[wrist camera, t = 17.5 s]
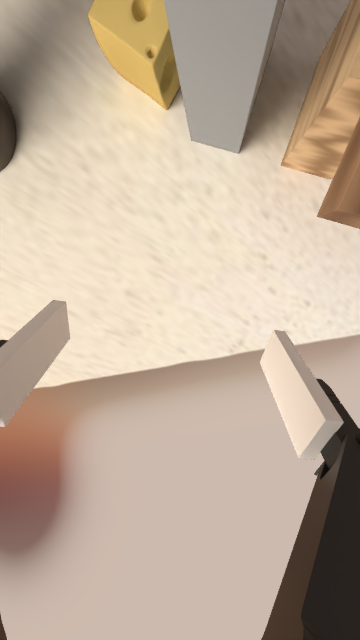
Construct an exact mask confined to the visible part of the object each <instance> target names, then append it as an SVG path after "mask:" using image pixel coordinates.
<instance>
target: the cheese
mask: <svg viewBox="0 0 360 640" xmlns="http://www.w3.org/2000/svg"><path fill="white" fill-rule="evenodd" d="M88 17H89V20H90V23H91V26H92V29H93V32H94V35H95V37H96V40H97V42H98V44H99V46H100V48H101V50H102V51H103V53H104V55H105V57H106V58H107V60H108V62H109V63H110V64H111V66H112V67H113V68H114V69H115V70H116V71H117V72H118V73H119V74H120V75H121V76H122V77H123V78H125V79H126V80H127V81H129V82H130V83H131V84H133V85H134V86H136V87H137V88H139V89H140V90H141V91H143V92H144V93H146V94H147V95H148V96H150V97H151V98H152V99H153V100H155V101H156V102H157V103H158V104H159V105H161V106H162V107H163V108H164V109H166V110H168V108H169V106H170V104H171V102H172V101H173V99H174V97H175V95H176V93H177V91H178V89H179V87H180V81H179V76H178V70H177V65H176V60H175V55H174V50H173V45H172V40H171V35H170V30H169V25H168V20H167V14H166V9H165V4H164V0H94V2H93V4H92V6H91V9H90V11H89V13H88Z"/></svg>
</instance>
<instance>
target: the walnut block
mask: <svg viewBox="0 0 360 640" xmlns="http://www.w3.org/2000/svg"><path fill="white" fill-rule="evenodd" d="M317 217H321V218H324V219H327V220H331V221H334V222H338V223H341V224H345V225H348V226H352V227H355V228H359V229H360V117H359V119H358V122H357V124H356V126H355V129H354V131H353V133H352V136H351V138H350V140H349V143H348V145H347V147H346V150H345V152H344V154H343V157H342V159H341V161H340V164H339V166H338V168H337V171H336V173H335V175H334V178H333V180H332V182H331V185H330V187H329V189H328V192H327V194H326V196H325V199H324V201H323V203H322V206H321V208H320V210H319V213H318V215H317Z"/></svg>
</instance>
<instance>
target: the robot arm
mask: <svg viewBox="0 0 360 640" xmlns="http://www.w3.org/2000/svg"><path fill="white" fill-rule="evenodd" d="M15 142H16V128H15V122H14V118H13V114H12V111H11V109H10V106H9V104H8V102H7V101H6V99H5V97H4V96H3V94H2V93H1V92H0V171H1V170H2V169H3V168H4V167H5V166H6V165H7V164H8V162H9V161H10V159H11V157H12V154H13V152H14V148H15ZM69 339H70V333H69V324H68V316H67V307H66V302H64V301H57V300H53V301H52V302H50V303H49V304H48V305H47V306H46V307H45V308H44V309H43V310H42V311H40V312H39V313H38V314H37V315H36V316H35V317H34V318H33V319H32V320H30V321H29V322H28V323H27V324H26V325H25V326H24V327H23V328H22V329H20V330H19V331H18V332H17V333H16V334H15V335H14V336H13V337H12V338H11V339H9V340H0V426H3V427H5V426H6V425H7V423H8V422H9V421H10V419H11V418H12V417H13V415H14V414H15V413H16V411H17V410H18V408H19V407H20V406H21V404H22V403H23V402H24V400H25V399H26V398H27V396H28V395H29V394H30V392H31V391H32V389H33V388H34V387H35V385H36V384H37V383H38V381H39V380H40V379H41V377H42V376H43V374H44V373H45V372H46V370H47V369H48V368H49V366H50V365H51V364H52V362H53V361H54V359H55V358H56V357H57V355H58V354H59V353H60V351H61V350H62V349H63V347H64V346H65V345H66V343H67V342H68V340H69ZM260 364H261V366H262V369H263V371H264V374H265V376H266V379H267V381H268V384H269V386H270V389H271V391H272V394H273V396H274V399H275V401H276V403H277V406H278V408H279V411H280V413H281V416H282V418H283V421H284V423H285V425H286V428H287V431H288V433H289V436H290V438H291V440H292V443H293V446H294V448H295V451H296V453H297V455H298V458H301V459H310V460H315V458H316V457H317V456H318V455H319V454H320V452H321V454H322V456H323V458H324V460H325V461H324V462H323V463H322V465H321V466H320V467H319V468H318V470H317V471H316V472H315V475H318V476H317V479H316V482H315V485H314V488H313V491H312V494H311V497H310V500H309V503H308V506H307V509H306V512H305V515H304V518H303V520H302V523H301V526H300V530H299V532H298V535H297V538H296V541H295V544H294V547H293V550H292V553H291V556H290V559H289V562H288V565H287V568H286V571H285V574H284V577H283V579H282V583H281V586H280V589H279V591H278V595H277V597H276V600H275V603H274V606H273V609H272V612H271V615H270V618H269V621H268V624H267V627H266V630H265V632H264V635H263V637H262V639H261V640H360V429H359V428H358V427H357V425H356V424H355V423H354V421H353V420H352V418H351V417H350V415H349V414H348V412H347V411H346V409H345V408H344V407H343V405H342V404H340V401H339V399H338V398H337V397H336V395H335V394H334V392H333V391H332V389H331V388H330V387H329V386H328V385H327V384H326V383H325V382H324V381H323V380H321V379H316V378H315V377H314V375H313V374H312V372H311V371H310V369H309V368H308V366H307V365H306V363H305V362H304V360H303V358H302V357H301V355H300V354H299V352H298V351H297V349H296V348H295V346H294V345H293V343H292V342H291V340H290V339H289V337H288V335H287V334H286V332H285V331H278V330H273V332H272V335H271V337H270V339H269V342H268V344H267V347H266V349H265V352H264V354H263V356H262V359H261V361H260ZM0 640H7V638H6V634H5V631H4V627H3V624H2V620H1V615H0Z"/></svg>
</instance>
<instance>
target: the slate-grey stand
mask: <svg viewBox="0 0 360 640" xmlns="http://www.w3.org/2000/svg"><path fill="white" fill-rule="evenodd" d="M284 2H285V0H164V4H165V9H166V14H167V20H168V25H169V30H170V35H171V40H172V45H173V50H174V55H175V60H176V65H177V70H178V76H179V81H180V86H181V91H182V96H183V101H184V106H185V111H186V116H187V121H188V126H189V132H190V137H191V141H195V142H199V143H202V144H206V145H209V146H213V147H216V148H220V149H224V150H227V151H231V152H234V153H238V154H239V150H240V147H241V144H242V141H243V138H244V134H245V131H246V128H247V125H248V122H249V118H250V115H251V112H252V109H253V106H254V102H255V99H256V96H257V93H258V90H259V86H260V83H261V80H262V77H263V74H264V70H265V67H266V64H267V61H268V57H269V54H270V51H271V48H272V45H273V41H274V38H275V34H276V31H277V27H278V24H279V20H280V16H281V13H282V9H283V6H284Z"/></svg>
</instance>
